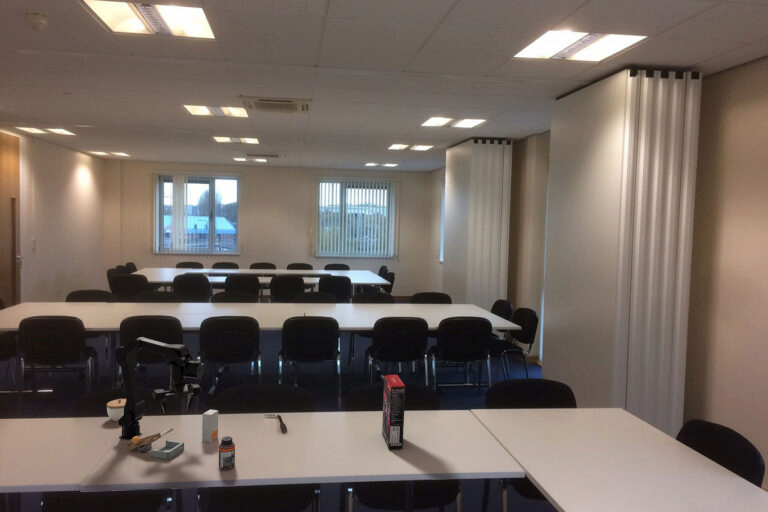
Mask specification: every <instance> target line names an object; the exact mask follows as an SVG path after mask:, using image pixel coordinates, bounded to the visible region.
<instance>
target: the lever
mask: <svg viewBox="0 0 768 512" xmlns="http://www.w3.org/2000/svg"><path fill="white" fill-rule="evenodd" d="M172 431H174V428H169V429H166V430H165V431H163V432H157V433H155V434H151V435H148V436H146V437H141V438H140V441H138V442H135V443H132V441H130V442H129V443H127V448H128V450H133V449H136V448H138V447H140V446H143V445H146V444H149V443H155V442H156V441H158V440H159V439H162V438H163V437H164V436H165V435H167V434H169V433H171V432H172Z"/></svg>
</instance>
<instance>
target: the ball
mask: <svg viewBox="0 0 768 512" xmlns="http://www.w3.org/2000/svg"><path fill="white" fill-rule="evenodd" d="M140 439H141V438H140V436H135V437H133V438H132V440H131V442H132V443H135V442H138V441H140Z"/></svg>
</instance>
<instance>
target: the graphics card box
mask: <svg viewBox="0 0 768 512" xmlns="http://www.w3.org/2000/svg"><path fill="white" fill-rule="evenodd" d="M383 379H384V380H383V399H382V401H383V403H382V404H383V405H382V424H381V425H382V427H381V436H382V437H383V439H384V442H385V444H386V447H387V449H388V450H397V449H403V448H404V430H405V429H404V426H405V406H406V405H405V404H406V403H405V402H406V399H405V398H406V385H405V383H404V382H403V380H402V379H401V378H400V377H399V375H398V374H387V375H384V378H383Z"/></svg>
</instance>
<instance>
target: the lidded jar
mask: <svg viewBox="0 0 768 512" xmlns="http://www.w3.org/2000/svg"><path fill="white" fill-rule="evenodd" d="M125 403H126V398H118V399H114V400H111V401H109V402H107V403H106V412H107V415H108V417H109V418H110V419H111V420H112V421H113V422H118V420H119V419H120V418H121V417H122V416H123V415H124V406H125Z"/></svg>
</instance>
